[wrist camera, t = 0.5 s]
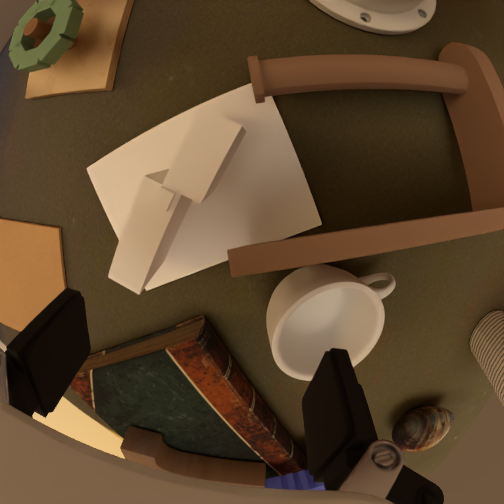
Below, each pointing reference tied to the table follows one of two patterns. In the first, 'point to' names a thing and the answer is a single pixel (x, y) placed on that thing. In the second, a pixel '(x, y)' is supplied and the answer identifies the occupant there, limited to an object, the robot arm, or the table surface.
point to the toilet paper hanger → (404, 78)
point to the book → (187, 398)
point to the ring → (55, 44)
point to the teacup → (324, 317)
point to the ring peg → (82, 51)
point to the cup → (490, 349)
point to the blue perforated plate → (294, 482)
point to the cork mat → (29, 270)
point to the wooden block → (189, 461)
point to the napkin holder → (202, 189)
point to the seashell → (422, 428)
